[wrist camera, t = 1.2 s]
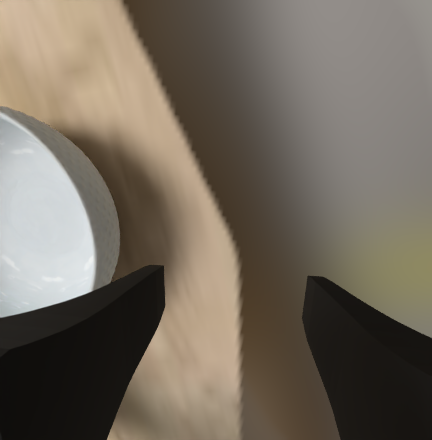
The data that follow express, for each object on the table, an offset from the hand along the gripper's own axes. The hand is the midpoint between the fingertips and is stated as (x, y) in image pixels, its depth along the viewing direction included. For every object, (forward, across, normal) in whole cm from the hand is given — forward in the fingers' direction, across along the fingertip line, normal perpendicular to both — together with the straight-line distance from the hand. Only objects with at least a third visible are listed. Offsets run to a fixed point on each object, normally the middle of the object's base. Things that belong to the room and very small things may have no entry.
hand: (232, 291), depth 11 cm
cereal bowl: (+11, +16, 0) cm, 20 cm away
